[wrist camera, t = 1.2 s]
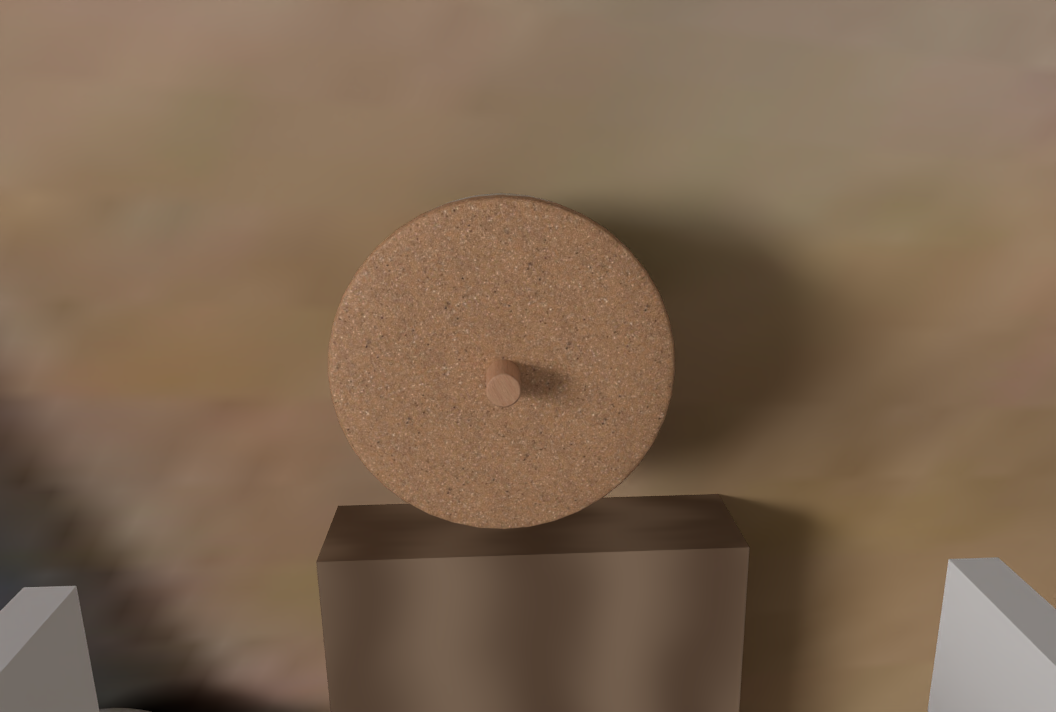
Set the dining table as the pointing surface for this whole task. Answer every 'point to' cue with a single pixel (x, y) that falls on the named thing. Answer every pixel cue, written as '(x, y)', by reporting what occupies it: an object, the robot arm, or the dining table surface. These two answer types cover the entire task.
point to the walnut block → (536, 610)
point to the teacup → (121, 710)
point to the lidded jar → (501, 361)
